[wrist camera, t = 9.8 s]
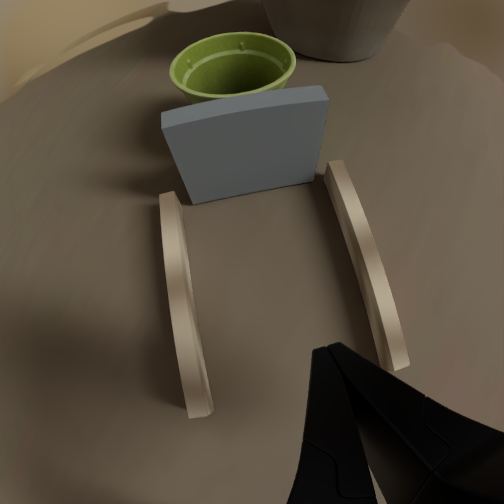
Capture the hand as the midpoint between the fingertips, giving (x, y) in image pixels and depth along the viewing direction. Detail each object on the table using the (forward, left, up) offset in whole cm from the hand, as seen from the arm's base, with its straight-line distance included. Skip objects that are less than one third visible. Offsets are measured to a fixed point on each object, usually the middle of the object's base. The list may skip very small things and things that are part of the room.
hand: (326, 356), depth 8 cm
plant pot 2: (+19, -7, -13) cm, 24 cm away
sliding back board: (+14, -5, -12) cm, 20 cm away
